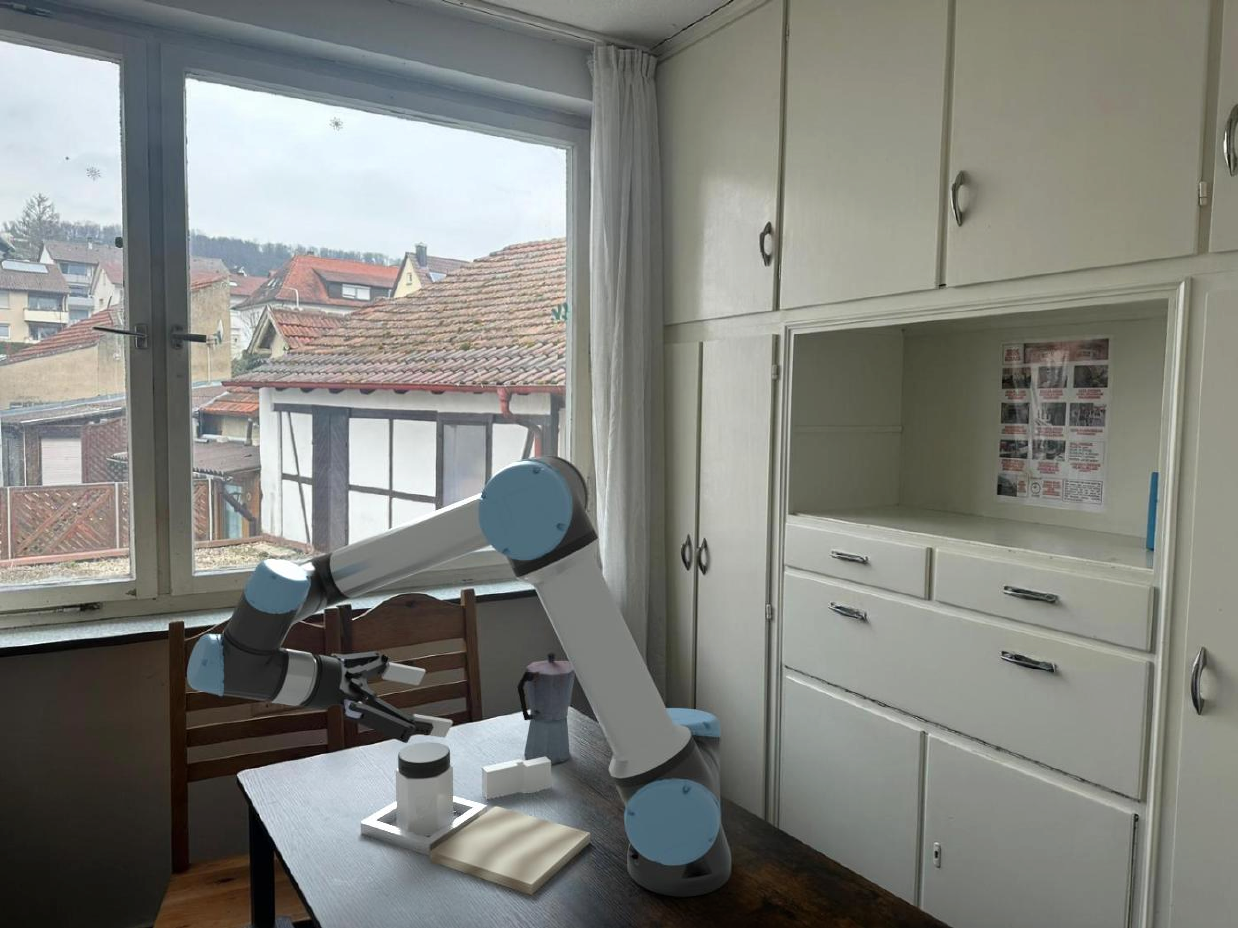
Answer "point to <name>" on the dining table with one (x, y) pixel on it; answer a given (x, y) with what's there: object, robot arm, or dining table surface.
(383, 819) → the white square frame
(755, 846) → the dining table surface
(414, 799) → the jar
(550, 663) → the moka pot
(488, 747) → the dining table surface
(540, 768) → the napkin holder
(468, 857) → the board
